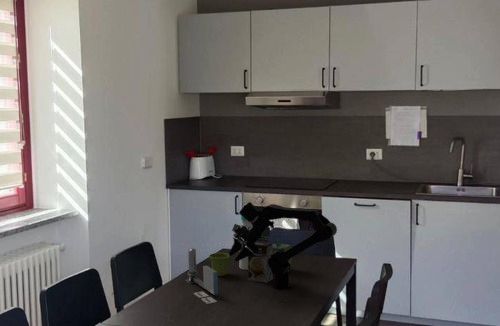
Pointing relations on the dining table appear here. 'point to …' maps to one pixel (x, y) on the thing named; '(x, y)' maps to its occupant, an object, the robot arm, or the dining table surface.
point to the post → (192, 266)
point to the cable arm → (208, 280)
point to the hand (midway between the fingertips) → (232, 258)
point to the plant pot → (219, 263)
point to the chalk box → (280, 246)
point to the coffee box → (260, 263)
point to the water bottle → (243, 262)
